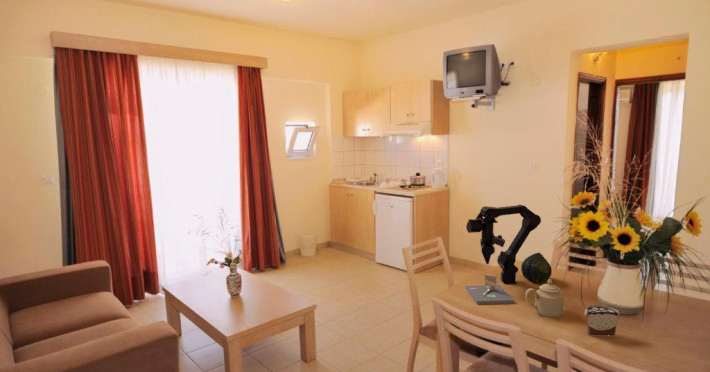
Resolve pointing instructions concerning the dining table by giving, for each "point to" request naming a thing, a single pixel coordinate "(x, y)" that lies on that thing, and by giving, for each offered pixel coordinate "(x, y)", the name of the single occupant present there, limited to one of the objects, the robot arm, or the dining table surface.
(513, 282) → the robot arm
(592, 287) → the dining table surface
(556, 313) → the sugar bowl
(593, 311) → the food container
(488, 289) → the tuning peg
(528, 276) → the squash
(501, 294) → the tuner dial board
